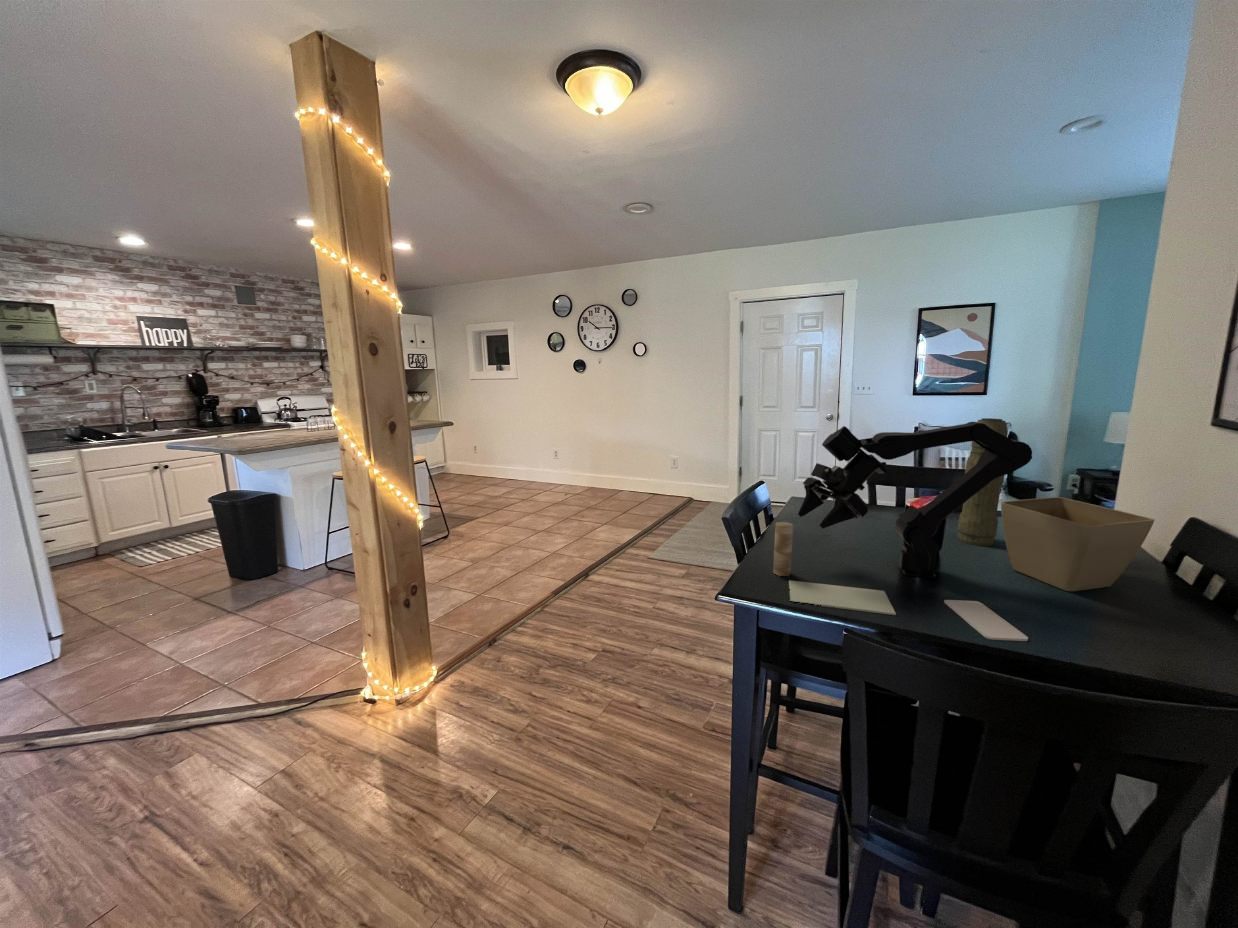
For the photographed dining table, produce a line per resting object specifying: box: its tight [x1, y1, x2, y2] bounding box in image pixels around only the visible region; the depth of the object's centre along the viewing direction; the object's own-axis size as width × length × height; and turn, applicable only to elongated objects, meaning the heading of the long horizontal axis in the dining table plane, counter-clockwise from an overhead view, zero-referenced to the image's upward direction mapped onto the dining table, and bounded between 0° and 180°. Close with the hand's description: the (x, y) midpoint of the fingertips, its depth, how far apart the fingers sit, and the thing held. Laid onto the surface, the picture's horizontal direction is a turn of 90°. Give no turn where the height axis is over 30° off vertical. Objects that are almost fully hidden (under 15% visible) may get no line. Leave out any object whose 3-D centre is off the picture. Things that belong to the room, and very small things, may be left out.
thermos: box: [956, 417, 1009, 547], centre depth 134 cm, size 9×12×35 cm
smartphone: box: [943, 599, 1029, 642], centre depth 94 cm, size 7×1×15 cm
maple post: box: [772, 521, 794, 577], centre depth 115 cm, size 4×4×12 cm
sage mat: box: [788, 580, 897, 616], centre depth 104 cm, size 20×10×1 cm, turn 73°
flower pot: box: [1000, 496, 1155, 592], centre depth 110 cm, size 19×19×17 cm
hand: (809, 521), depth 115 cm, fingers open, 9 cm apart
